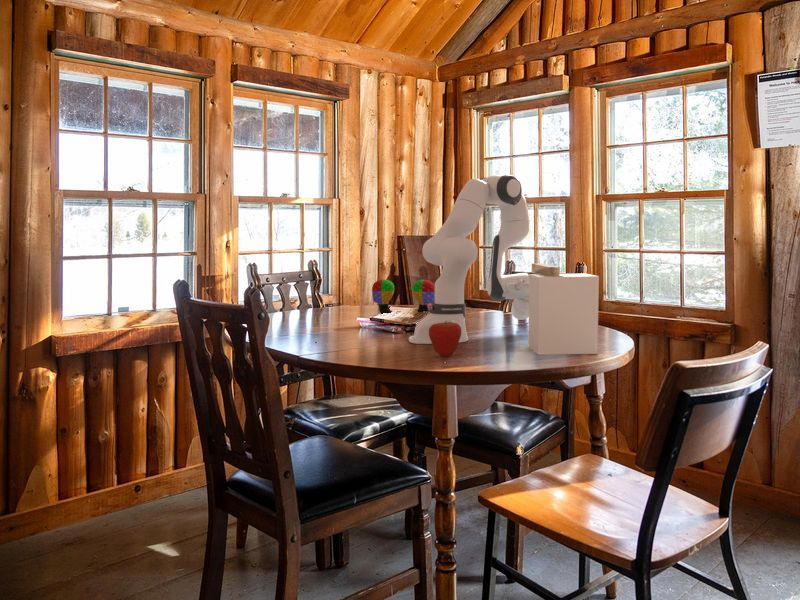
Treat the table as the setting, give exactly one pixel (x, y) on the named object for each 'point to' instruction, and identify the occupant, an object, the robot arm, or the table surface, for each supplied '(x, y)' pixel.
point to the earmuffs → (385, 291)
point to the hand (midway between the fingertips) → (535, 281)
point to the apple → (445, 337)
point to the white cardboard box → (563, 314)
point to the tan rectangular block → (545, 269)
